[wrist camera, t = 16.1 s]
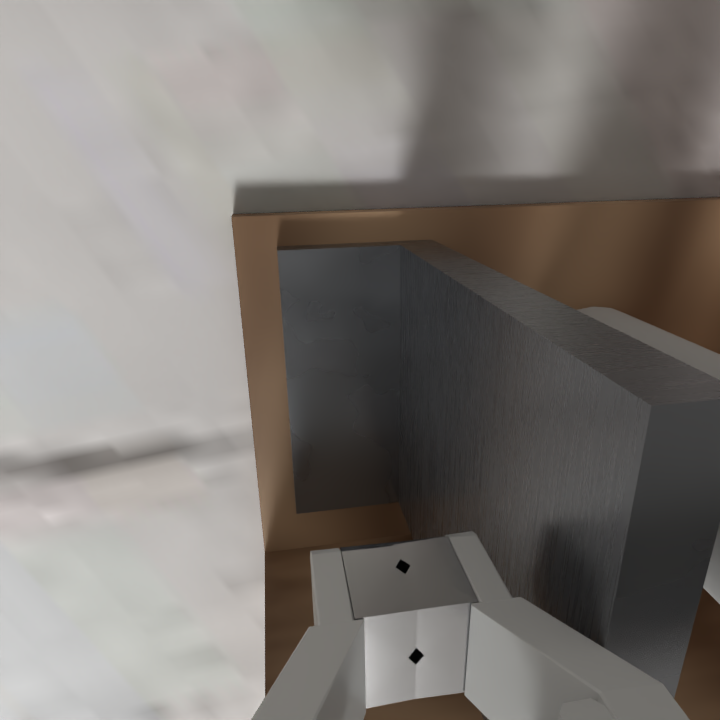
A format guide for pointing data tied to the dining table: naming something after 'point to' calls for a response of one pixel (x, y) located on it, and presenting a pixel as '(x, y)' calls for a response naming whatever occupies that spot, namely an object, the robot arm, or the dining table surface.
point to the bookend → (507, 434)
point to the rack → (522, 263)
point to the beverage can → (690, 353)
